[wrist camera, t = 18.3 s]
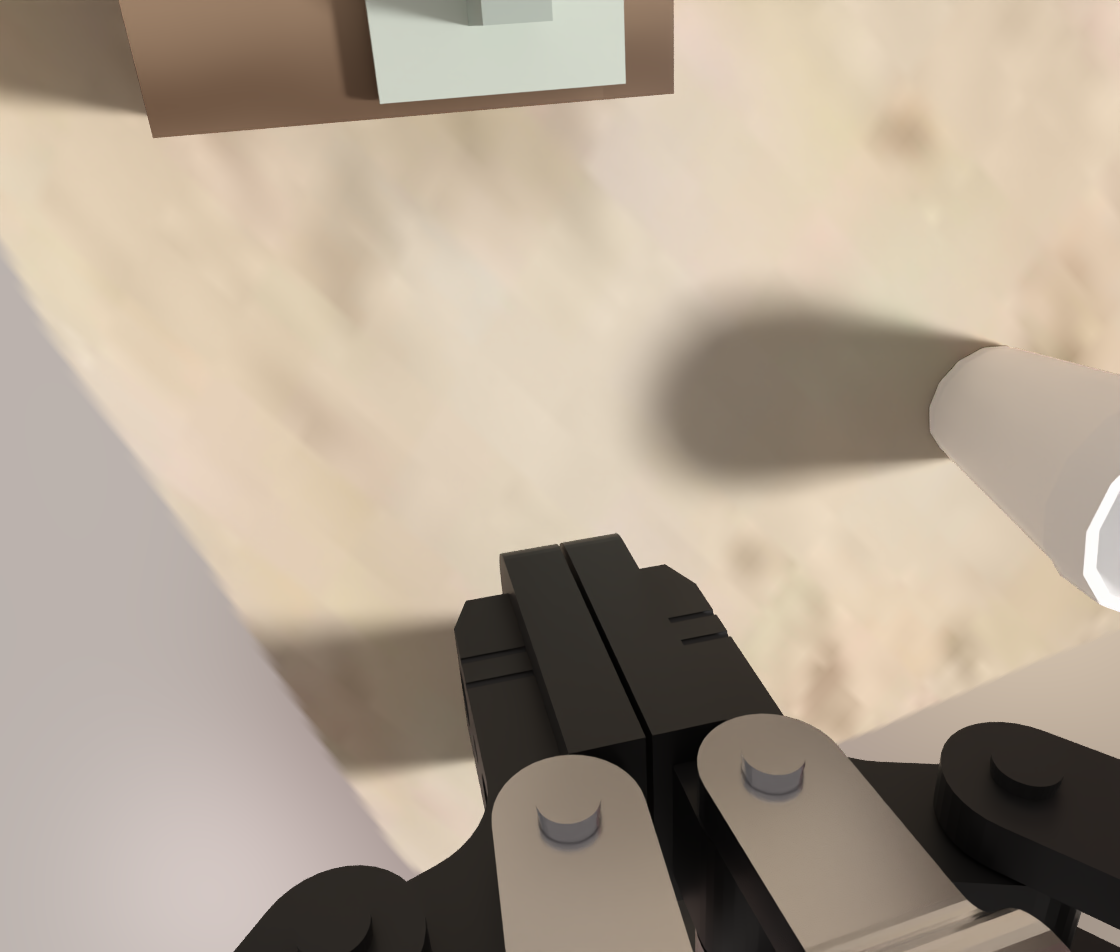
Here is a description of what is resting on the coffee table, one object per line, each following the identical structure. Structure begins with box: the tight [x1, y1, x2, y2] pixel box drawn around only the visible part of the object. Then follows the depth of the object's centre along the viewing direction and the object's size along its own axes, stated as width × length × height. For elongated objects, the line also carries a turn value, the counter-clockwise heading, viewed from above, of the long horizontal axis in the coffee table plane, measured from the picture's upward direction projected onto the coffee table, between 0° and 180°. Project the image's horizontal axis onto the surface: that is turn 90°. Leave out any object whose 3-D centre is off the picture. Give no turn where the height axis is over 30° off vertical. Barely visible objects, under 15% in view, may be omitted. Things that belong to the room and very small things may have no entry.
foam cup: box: [929, 346, 1120, 612], centre depth 42 cm, size 10×9×13 cm
